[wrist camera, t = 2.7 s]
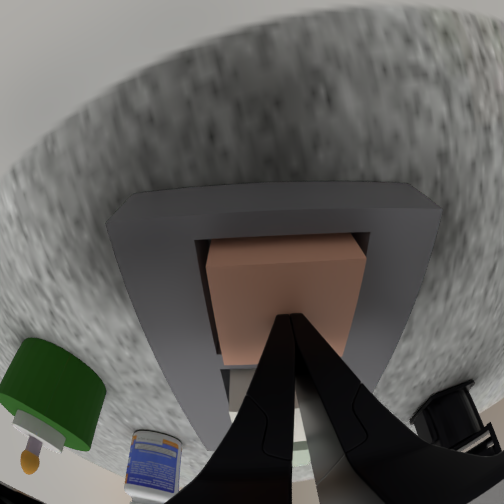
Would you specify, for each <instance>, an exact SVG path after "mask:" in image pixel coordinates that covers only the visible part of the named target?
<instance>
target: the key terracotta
mask: <svg viewBox="0 0 504 504" xmlns="http://www.w3.org/2000/svg"><path fill="white" fill-rule="evenodd" d="M366 259H367V258H366V256H365V255H364V253H363V251H362V250H361V248H360V247H359V245H358V244H357V242H356V241H355V239H354V237H353V236H352V234H351V233H350V232H349V233H323V234H299V235H277V236H257V237H237V238H219V239H211V244H210V248H209V253H208V258H207V263H206V272H207V278H208V284H209V289H210V295H211V301H212V306H213V312H214V317H215V322H216V327H217V333H218V338H219V343H220V348H221V352H222V357H223V362H224V365H252V364H258V362H259V360H260V357H261V355H262V352H263V349H264V347H265V344H266V341H267V339H268V336H269V333H270V331H271V328H272V325H273V323H274V320H275V317H276V315H278V314H289V315H290V314H291V313H303V314H304V316H305V317H306V318H307V319H308V320H309V321H310V322H311V324H312V325H313V326H314V327H315V328H316V329H317V331H318V332H319V333H320V334H321V335H322V336H323V338H324V339H325V340H326V341H327V342H328V343H329V345H330V346H331V347H332V348H333V349H334V350H335V352H336V353H337V354H338V355H339V356H340V357H342V356H343V352H344V349H345V346H346V342H347V339H348V335H349V332H350V328H351V324H352V320H353V317H354V313H355V309H356V305H357V301H358V296H359V292H360V288H361V283H362V279H363V274H364V269H365V264H366Z"/></svg>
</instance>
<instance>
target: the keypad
mask: <svg viewBox="0 0 504 504" xmlns="http://www.w3.org/2000/svg"><path fill="white" fill-rule="evenodd" d="M442 211H443V209H442V208H441V207H440V206H438V205H437V204H436V203H435V202H433V201H432V200H431V199H429V198H428V197H426V196H425V195H424V194H422V193H421V192H420V191H418V190H417V189H415V188H414V187H413V186H411V185H410V184H408V183H390V182H357V181H300V182H267V183H245V184H229V185H214V186H201V187H190V188H179V189H169V190H160V191H151V192H142V193H134V194H132V195H131V196H130V197H129V198H128V199H127V200H126V201H125V202H124V204H123V205H122V206H121V207H120V208H119V209H118V210H117V211H116V212H115V213H114V214H113V215H112V216H111V217H110V218H109V219H108V221H107V222H106V223H105V224H106V227H107V231H108V234H109V238H110V241H111V244H112V247H113V251H114V254H115V257H116V260H117V263H118V266H119V269H120V272H121V275H122V277H123V280H124V283H125V286H126V289H127V291H128V294H129V297H130V299H131V302H132V304H133V307H134V309H135V312H136V314H137V317H138V319H139V322H140V324H141V326H142V329H143V331H144V333H145V336H146V338H147V340H148V342H149V345H150V347H151V349H152V351H153V353H154V356H155V358H156V360H157V362H158V364H159V366H160V368H161V370H162V372H163V374H164V376H165V378H166V380H167V382H168V384H169V386H170V388H171V390H172V392H173V393H174V395H175V397H176V399H177V401H178V403H179V404H180V406H181V408H182V410H183V412H184V413H185V415H186V417H187V419H188V420H189V422H190V424H191V425H192V427H193V429H194V430H195V432H196V434H197V435H198V437H199V438H200V440H201V442H202V443H203V445H204V446H205V448H206V449H207V451H215V450H216V449H217V447H218V446H219V444H220V443H221V441H222V440H223V438H224V436H225V435H226V433H227V432H228V430H229V428H230V426H231V425H232V422H231V418H230V414H229V388H230V369H250V368H256V367H257V365H258V364H252V365H224V362H223V357H222V352H221V348H220V343H219V338H218V333H217V327H216V322H215V317H214V312H213V306H212V301H211V295H210V289H209V284H208V278H207V272H206V263H207V258H208V253H209V248H210V244H211V239H219V238H237V237H257V236H277V235H299V234H323V233H349V232H350V233H351V234H352V236H353V237H354V239H355V241H356V242H357V244H358V245H359V247H360V248H361V250H362V251H363V253H364V255H365V256H366V258H367V259H366V264H365V269H364V274H363V279H362V283H361V288H360V292H359V296H358V301H357V305H356V309H355V313H354V317H353V320H352V324H351V328H350V332H349V335H348V339H347V342H346V346H345V349H344V352H343V356H342V357H341V358H342V360H343V361H344V362H345V363H346V364H347V365H348V367H349V368H350V369H351V370H352V371H353V372H354V374H355V375H356V376H357V377H358V378H359V379H360V380H361V383H363V384H364V385H365V386H366V387H367V389H368V390H369V391H370V392H371V393H373V391H374V389H375V387H376V385H377V384H378V382H379V380H380V378H381V376H382V374H383V372H384V370H385V368H386V367H387V365H388V363H389V361H390V359H391V356H392V354H393V352H394V350H395V348H396V346H397V344H398V342H399V339H400V337H401V335H402V333H403V330H404V328H405V326H406V323H407V321H408V319H409V316H410V314H411V311H412V309H413V306H414V304H415V301H416V298H417V296H418V293H419V290H420V287H421V285H422V282H423V279H424V276H425V273H426V270H427V267H428V263H429V260H430V257H431V254H432V250H433V247H434V243H435V240H436V236H437V232H438V228H439V224H440V220H441V216H442Z"/></svg>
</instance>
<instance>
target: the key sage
mask: <svg viewBox="0 0 504 504" xmlns="http://www.w3.org/2000/svg"><path fill="white" fill-rule="evenodd" d="M310 461H311V459H310V455H309V450H308V445H307V441H299V442H293V460H292V467H295V466H304V465H308V464H309V463H310Z"/></svg>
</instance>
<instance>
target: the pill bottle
mask: <svg viewBox="0 0 504 504" xmlns="http://www.w3.org/2000/svg"><path fill="white" fill-rule="evenodd" d="M181 453H182V444H181V443H180V442H179V441H178V440H177V439H175V438H173V437H171V436H168V435H164V434H161V433H156V432H151V431H137V432H135V433H134V434H133V438H132V443H131V448H130V454H129V460H128V466H127V472H126V478H125V486H124V489H125V492H126V493H127V494H128V495H130V496H131V497H132V502H130V504H164V503H165V502H166V501H168V500H169V499H170V498H172V497H173V496H174V495H175V494H177V493H178V492H179V476H180V463H181Z"/></svg>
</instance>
